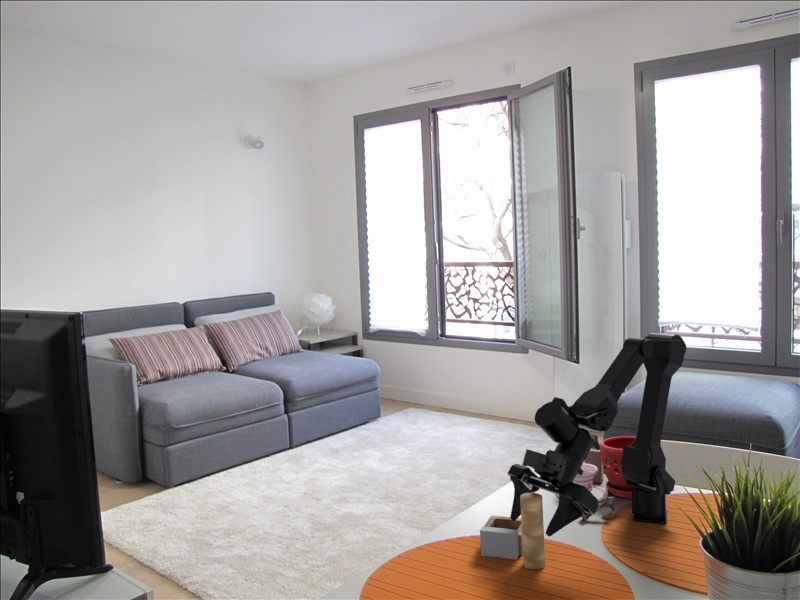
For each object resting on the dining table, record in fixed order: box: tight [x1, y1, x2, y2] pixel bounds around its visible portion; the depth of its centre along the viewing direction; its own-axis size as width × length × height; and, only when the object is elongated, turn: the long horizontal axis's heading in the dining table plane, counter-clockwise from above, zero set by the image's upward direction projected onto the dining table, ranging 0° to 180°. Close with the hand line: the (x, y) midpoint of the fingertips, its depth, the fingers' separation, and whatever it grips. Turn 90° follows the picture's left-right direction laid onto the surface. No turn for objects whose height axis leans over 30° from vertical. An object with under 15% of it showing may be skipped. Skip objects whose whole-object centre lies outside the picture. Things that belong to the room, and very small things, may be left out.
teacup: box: [555, 462, 609, 503], centre depth 161 cm, size 12×12×6 cm
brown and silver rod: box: [581, 496, 619, 523], centre depth 146 cm, size 2×8×4 cm, turn 101°
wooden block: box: [583, 448, 605, 484], centre depth 169 cm, size 4×4×8 cm
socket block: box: [483, 514, 523, 556], centre depth 136 cm, size 8×8×4 cm
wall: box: [479, 525, 520, 561], centre depth 132 cm, size 7×2×5 cm, turn 67°
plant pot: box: [599, 435, 636, 499], centre depth 160 cm, size 13×13×12 cm
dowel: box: [520, 492, 546, 570], centre depth 127 cm, size 4×4×13 cm
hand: (529, 527), depth 126 cm, fingers open, 9 cm apart
